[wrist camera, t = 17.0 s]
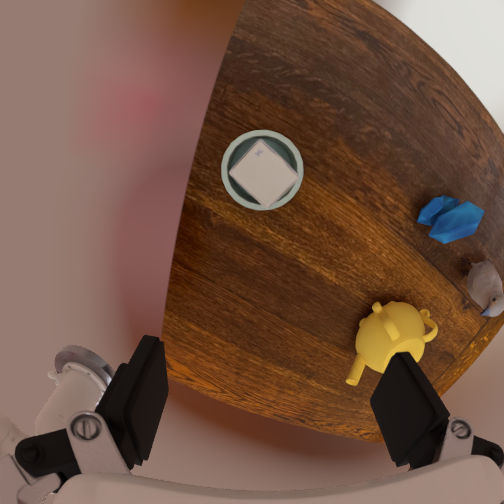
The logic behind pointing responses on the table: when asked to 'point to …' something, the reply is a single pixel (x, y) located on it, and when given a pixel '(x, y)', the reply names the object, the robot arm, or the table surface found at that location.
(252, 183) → the box
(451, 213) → the crystal
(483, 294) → the bird
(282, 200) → the jar
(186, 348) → the table surface
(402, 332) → the teapot
